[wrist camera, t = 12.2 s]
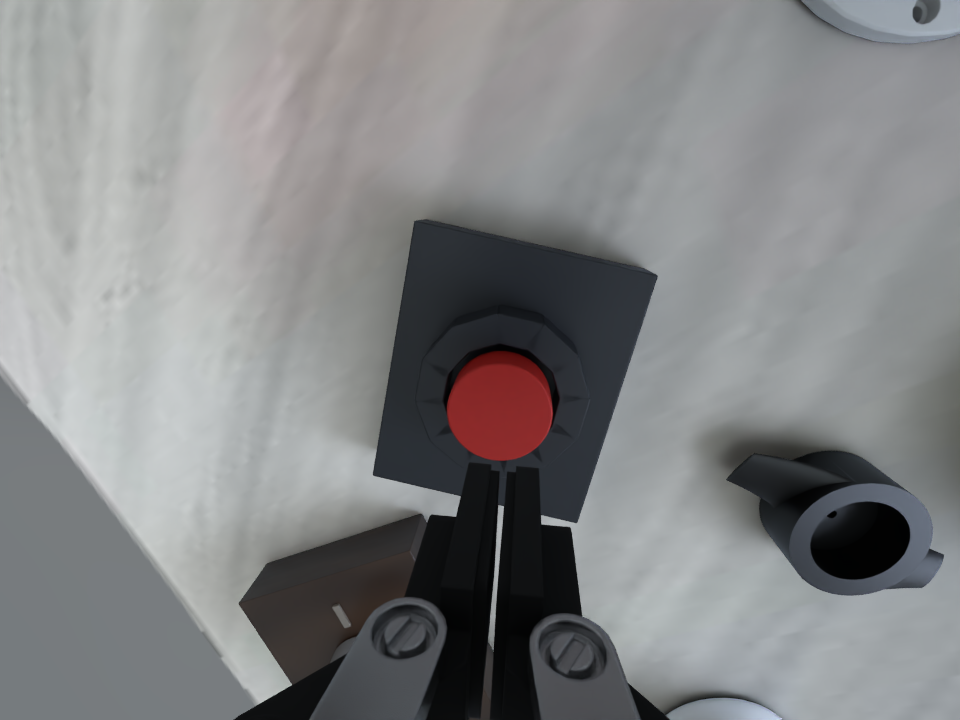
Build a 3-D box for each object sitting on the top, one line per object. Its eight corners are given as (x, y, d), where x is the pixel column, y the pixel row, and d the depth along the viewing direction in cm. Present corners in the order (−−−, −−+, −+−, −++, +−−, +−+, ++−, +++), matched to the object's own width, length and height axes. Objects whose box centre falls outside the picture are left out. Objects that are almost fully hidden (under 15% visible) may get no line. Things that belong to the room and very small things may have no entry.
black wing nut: (876, 386, 22) (926, 411, 20) (930, 555, 25) (981, 599, 22) (709, 450, 24) (733, 481, 21) (774, 603, 26) (804, 650, 23)
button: (463, 340, 19) (457, 352, 18) (561, 362, 19) (565, 377, 18) (444, 429, 21) (437, 448, 19) (536, 450, 21) (538, 472, 19)
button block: (424, 219, 22) (403, 221, 18) (645, 268, 22) (671, 282, 18) (384, 453, 25) (360, 497, 22) (572, 497, 25) (581, 549, 22)
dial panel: (266, 563, 28) (236, 605, 25) (421, 513, 26) (409, 552, 23) (359, 711, 31) (342, 765, 28) (505, 676, 29) (503, 729, 26)
